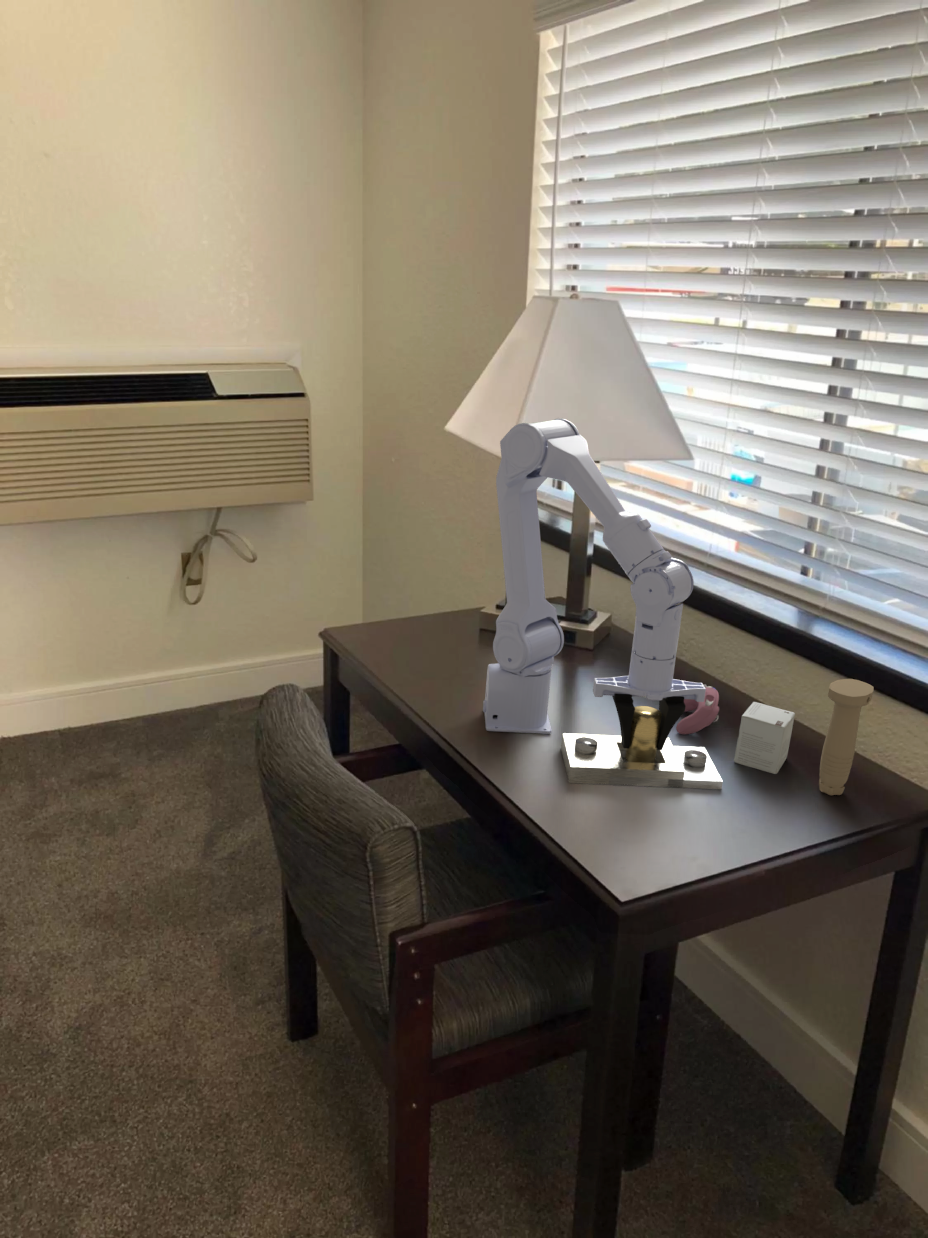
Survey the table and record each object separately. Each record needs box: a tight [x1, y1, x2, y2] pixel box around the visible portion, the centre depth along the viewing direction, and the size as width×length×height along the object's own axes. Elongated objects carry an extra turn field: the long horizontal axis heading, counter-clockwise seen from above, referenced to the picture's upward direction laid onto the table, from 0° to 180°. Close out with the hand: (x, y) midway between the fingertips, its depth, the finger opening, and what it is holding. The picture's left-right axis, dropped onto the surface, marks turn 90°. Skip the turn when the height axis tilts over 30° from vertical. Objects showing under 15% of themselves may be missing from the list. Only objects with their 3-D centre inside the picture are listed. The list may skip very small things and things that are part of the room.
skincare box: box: [733, 701, 796, 775], centre depth 138 cm, size 6×6×7 cm
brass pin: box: [624, 705, 662, 763], centre depth 133 cm, size 4×4×7 cm
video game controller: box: [675, 683, 720, 735], centre depth 149 cm, size 10×5×7 cm, turn 169°
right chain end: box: [609, 745, 723, 790], centre depth 135 cm, size 15×10×2 cm, turn 91°
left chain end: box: [560, 732, 685, 785], centre depth 135 cm, size 15×10×4 cm, turn 91°
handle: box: [818, 678, 874, 796], centre depth 130 cm, size 5×6×15 cm
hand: (641, 746), depth 134 cm, fingers closed on brass pin, 4 cm apart
